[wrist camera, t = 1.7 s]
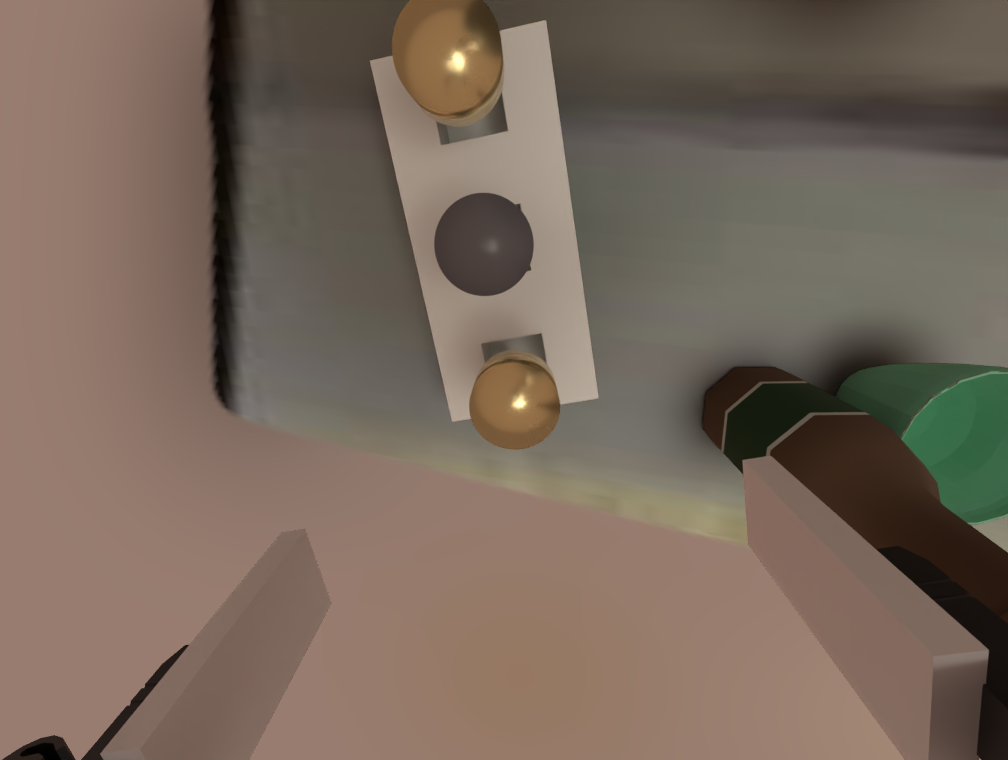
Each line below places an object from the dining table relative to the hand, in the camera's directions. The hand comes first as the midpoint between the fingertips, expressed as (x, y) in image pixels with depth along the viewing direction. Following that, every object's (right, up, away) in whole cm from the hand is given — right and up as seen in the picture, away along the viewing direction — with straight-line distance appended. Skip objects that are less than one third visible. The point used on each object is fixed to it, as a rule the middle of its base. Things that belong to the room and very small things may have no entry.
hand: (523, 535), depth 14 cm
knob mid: (-1, +13, +16) cm, 21 cm away
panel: (-1, +15, +21) cm, 26 cm away
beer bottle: (+19, +2, +24) cm, 31 cm away
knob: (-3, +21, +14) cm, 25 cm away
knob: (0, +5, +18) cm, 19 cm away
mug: (+30, +2, +24) cm, 38 cm away
